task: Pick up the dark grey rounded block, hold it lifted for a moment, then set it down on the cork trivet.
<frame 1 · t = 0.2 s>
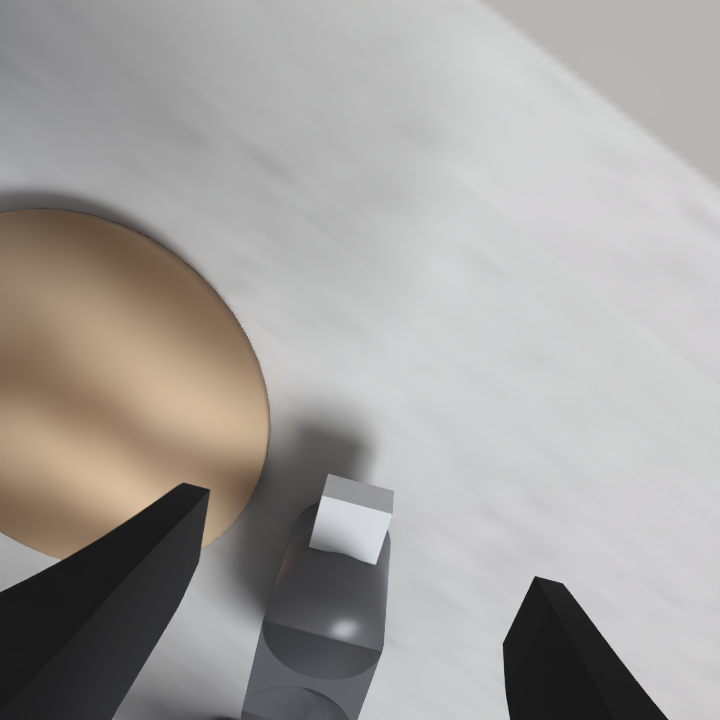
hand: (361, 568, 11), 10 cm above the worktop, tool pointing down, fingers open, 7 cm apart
cork trivet: (84, 404, 22), on the worktop
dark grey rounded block: (329, 582, 24), on the worktop
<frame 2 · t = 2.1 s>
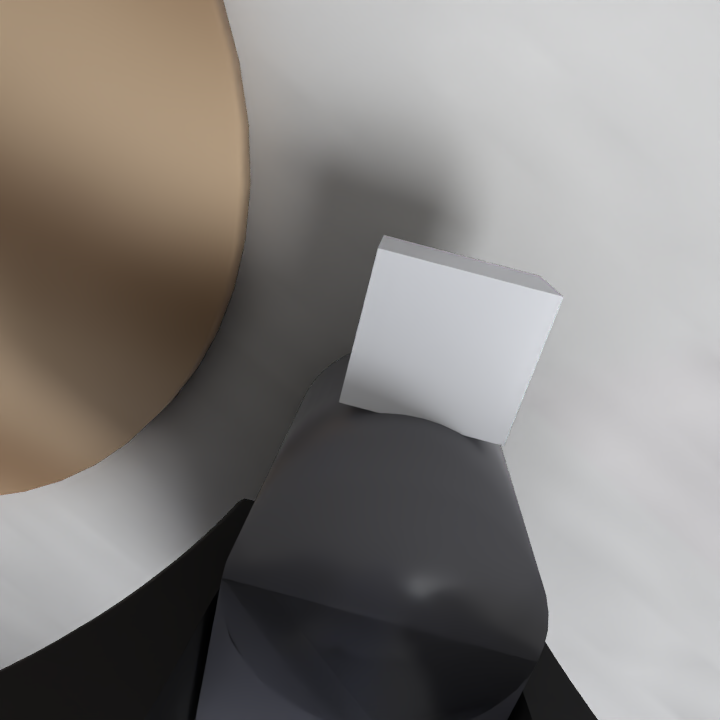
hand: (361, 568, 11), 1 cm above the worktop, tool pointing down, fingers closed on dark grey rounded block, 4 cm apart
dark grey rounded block: (366, 525, 13), on the worktop, touching gripper
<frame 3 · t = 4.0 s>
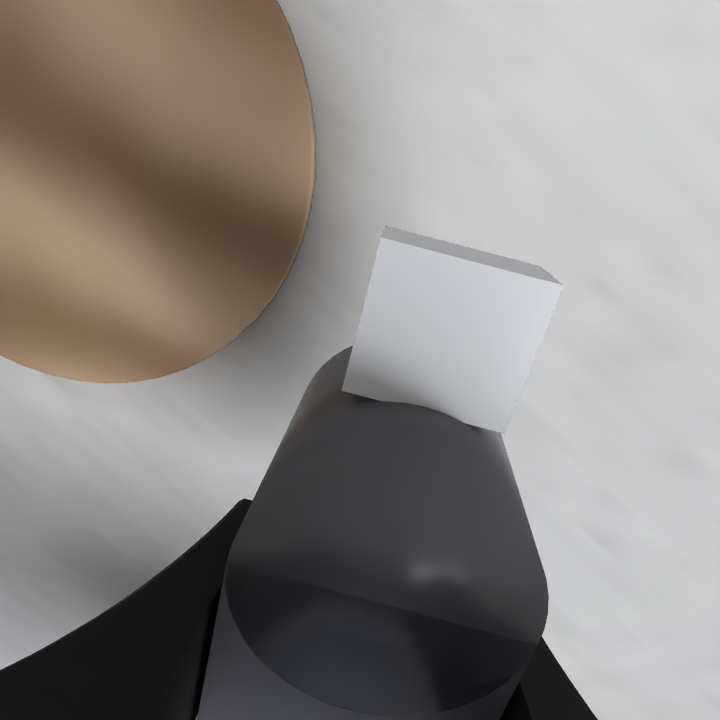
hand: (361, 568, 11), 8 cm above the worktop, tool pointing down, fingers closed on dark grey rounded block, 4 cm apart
cork trivet: (73, 146, 17), on the worktop
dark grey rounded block: (368, 517, 13), point 7 cm above the worktop, touching gripper
when the fingers open (3 cm above the worktop, at t = 6.2 s): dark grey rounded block stays where it is, resting on cork trivet.
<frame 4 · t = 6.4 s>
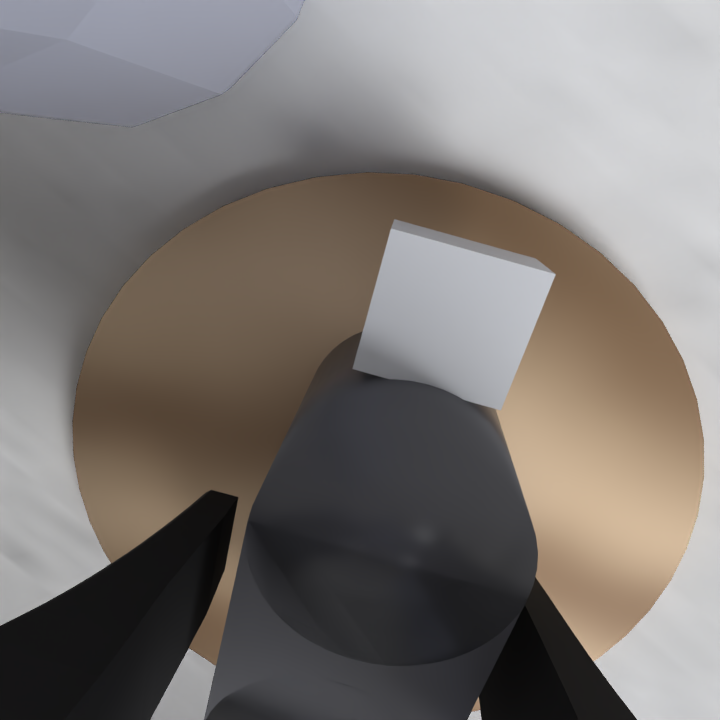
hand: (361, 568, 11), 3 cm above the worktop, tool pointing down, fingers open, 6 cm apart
cork trivet: (372, 483, 14), on the worktop
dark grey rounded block: (371, 495, 13), point 1 cm above the worktop, touching cork trivet
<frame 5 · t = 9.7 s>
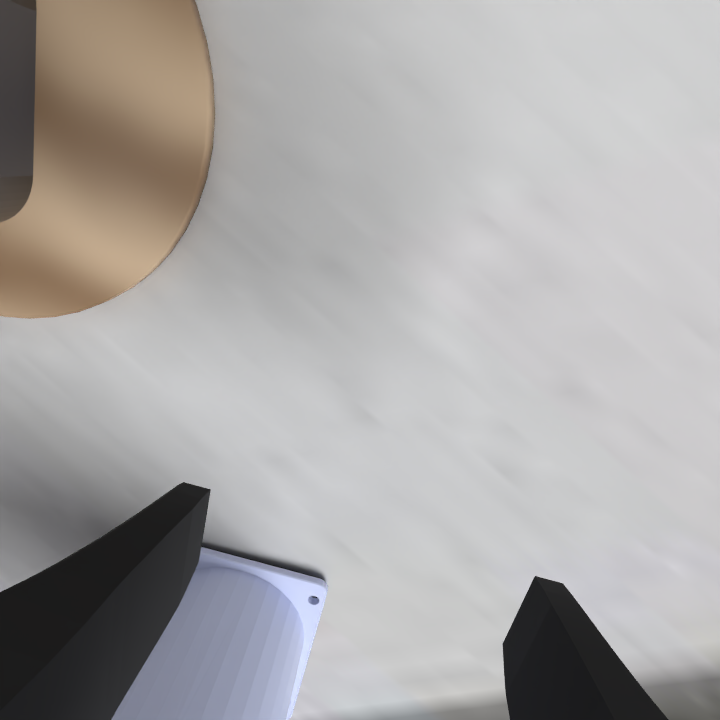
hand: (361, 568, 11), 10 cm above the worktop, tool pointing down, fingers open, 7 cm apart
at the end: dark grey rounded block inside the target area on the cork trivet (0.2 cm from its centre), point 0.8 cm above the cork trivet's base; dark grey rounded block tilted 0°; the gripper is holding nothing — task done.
